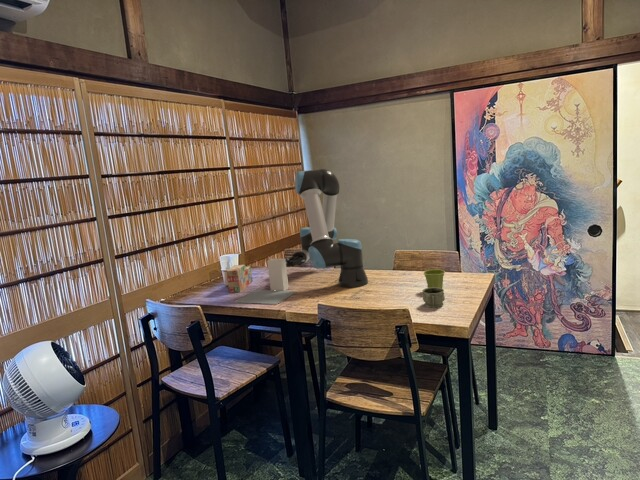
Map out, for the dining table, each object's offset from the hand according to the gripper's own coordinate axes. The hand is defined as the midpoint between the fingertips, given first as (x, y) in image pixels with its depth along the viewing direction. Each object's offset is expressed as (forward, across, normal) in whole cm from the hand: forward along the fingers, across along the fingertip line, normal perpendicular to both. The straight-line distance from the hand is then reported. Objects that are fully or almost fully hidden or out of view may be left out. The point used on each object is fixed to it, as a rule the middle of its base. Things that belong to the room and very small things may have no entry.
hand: (280, 267), depth 227 cm
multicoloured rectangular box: (+2, +26, -11) cm, 28 cm away
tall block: (+4, -1, -11) cm, 12 cm away
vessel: (+17, -83, -11) cm, 85 cm away
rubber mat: (+17, -1, -11) cm, 21 cm away
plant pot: (-3, -80, -11) cm, 80 cm away
